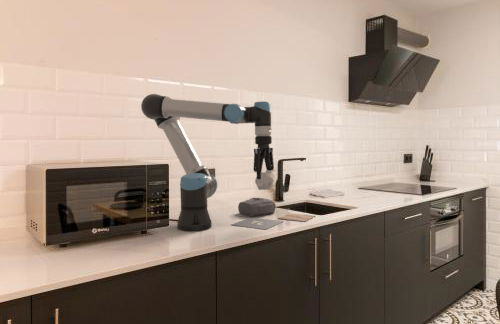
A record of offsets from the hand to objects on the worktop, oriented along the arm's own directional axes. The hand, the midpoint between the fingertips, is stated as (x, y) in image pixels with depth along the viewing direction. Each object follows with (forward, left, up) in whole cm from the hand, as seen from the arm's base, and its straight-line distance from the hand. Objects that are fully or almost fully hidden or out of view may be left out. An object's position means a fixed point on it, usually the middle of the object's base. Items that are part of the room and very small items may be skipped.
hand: (264, 185), depth 173 cm
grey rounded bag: (+18, +14, -18) cm, 29 cm away
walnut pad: (+17, -9, -18) cm, 26 cm away
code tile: (-3, +2, -18) cm, 18 cm away
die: (0, 0, -2) cm, 2 cm away
